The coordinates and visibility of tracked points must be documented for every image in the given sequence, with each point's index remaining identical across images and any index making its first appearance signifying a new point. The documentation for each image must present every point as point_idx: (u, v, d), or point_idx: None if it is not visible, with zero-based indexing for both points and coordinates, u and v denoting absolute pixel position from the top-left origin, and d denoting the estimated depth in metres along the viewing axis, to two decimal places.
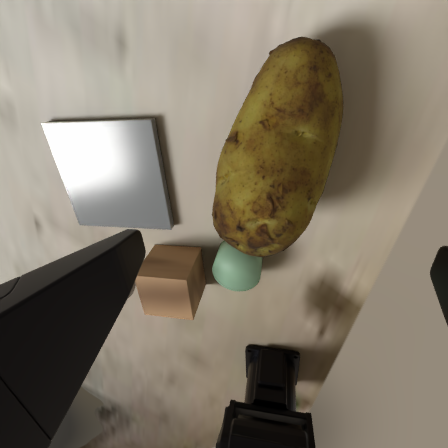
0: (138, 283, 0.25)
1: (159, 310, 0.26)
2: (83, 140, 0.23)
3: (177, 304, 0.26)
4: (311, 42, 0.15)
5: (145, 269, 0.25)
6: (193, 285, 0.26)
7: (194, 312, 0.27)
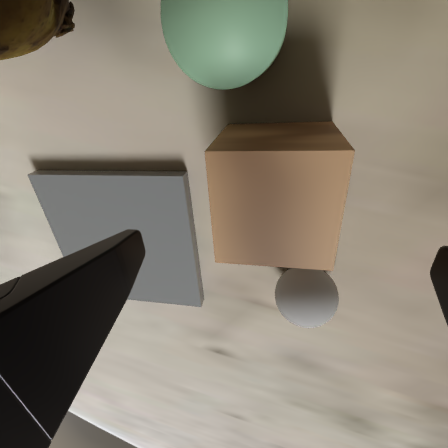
0: (235, 258, 0.12)
1: (317, 234, 0.11)
2: None
3: (291, 187, 0.10)
4: None
5: None
6: (259, 141, 0.11)
7: (339, 145, 0.09)
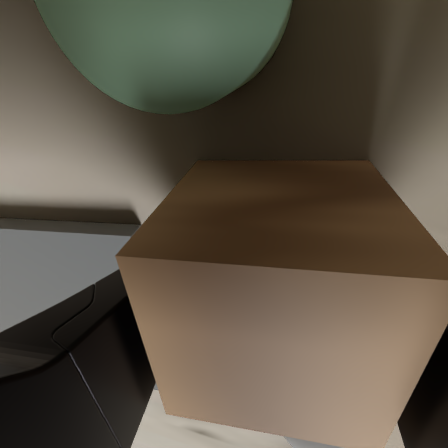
0: (199, 414, 0.07)
1: (355, 406, 0.05)
2: None
3: (305, 333, 0.05)
4: None
5: None
6: (239, 219, 0.05)
7: (417, 252, 0.04)
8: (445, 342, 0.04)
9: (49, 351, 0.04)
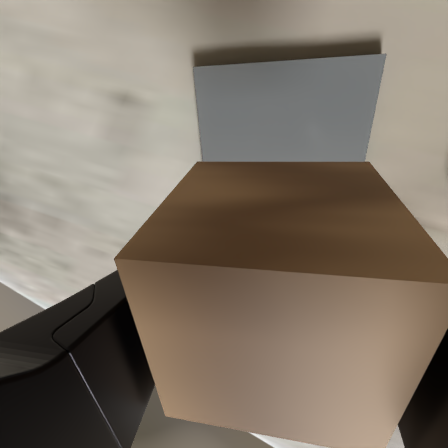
0: (198, 416, 0.07)
1: (354, 409, 0.05)
2: None
3: (304, 336, 0.05)
4: None
5: None
6: (238, 221, 0.05)
7: (418, 255, 0.04)
8: (445, 342, 0.04)
9: (48, 351, 0.04)
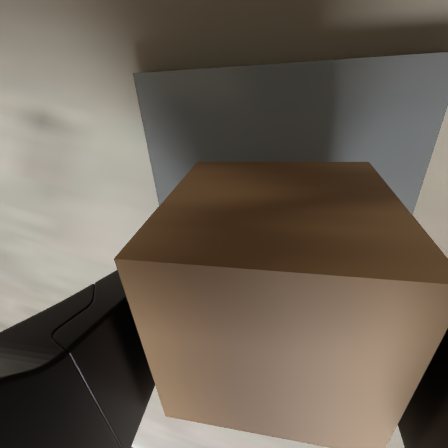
0: (198, 416, 0.07)
1: (354, 409, 0.05)
2: None
3: (303, 336, 0.05)
4: None
5: None
6: (238, 221, 0.05)
7: (417, 255, 0.04)
8: (445, 342, 0.04)
9: (49, 351, 0.04)
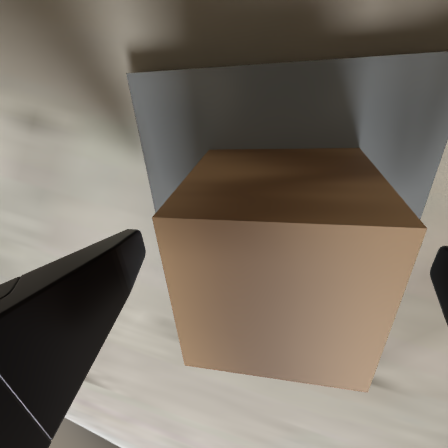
0: (214, 363, 0.08)
1: (345, 346, 0.06)
2: None
3: (303, 279, 0.06)
4: None
5: None
6: (249, 192, 0.06)
7: (391, 211, 0.05)
8: None
9: None
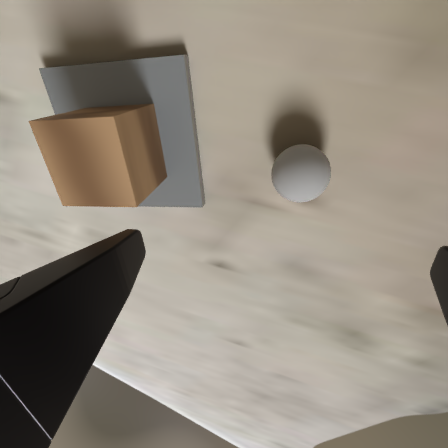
0: (74, 201, 0.17)
1: (116, 179, 0.15)
2: None
3: (88, 144, 0.15)
4: None
5: None
6: (75, 115, 0.15)
7: (113, 114, 0.14)
8: None
9: None
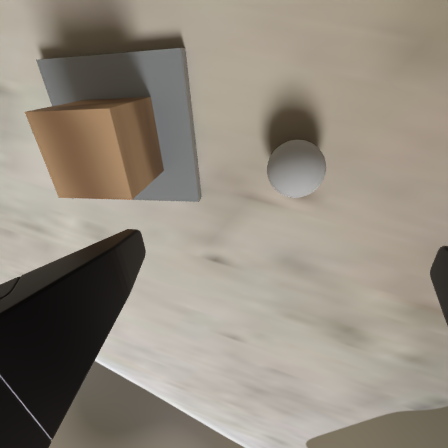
0: (70, 193, 0.17)
1: (112, 171, 0.15)
2: None
3: (84, 136, 0.15)
4: None
5: None
6: (71, 106, 0.15)
7: (109, 106, 0.14)
8: None
9: None
